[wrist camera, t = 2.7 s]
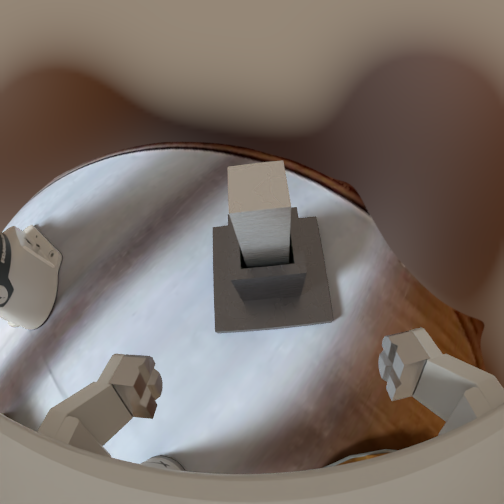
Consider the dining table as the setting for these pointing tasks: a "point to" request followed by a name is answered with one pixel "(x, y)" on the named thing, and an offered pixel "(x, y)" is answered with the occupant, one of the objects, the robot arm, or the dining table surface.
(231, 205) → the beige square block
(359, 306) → the dining table surface
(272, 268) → the grey square socket stand
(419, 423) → the dining table surface
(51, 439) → the robot arm
